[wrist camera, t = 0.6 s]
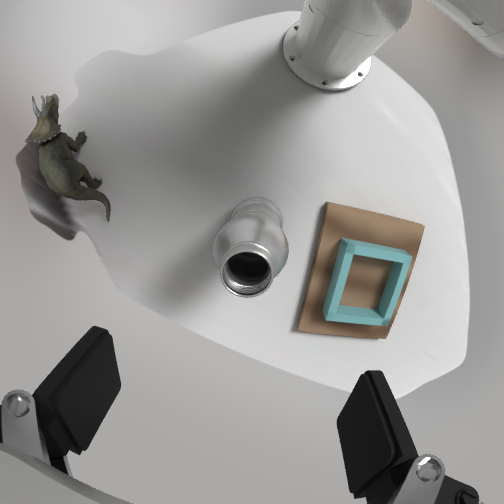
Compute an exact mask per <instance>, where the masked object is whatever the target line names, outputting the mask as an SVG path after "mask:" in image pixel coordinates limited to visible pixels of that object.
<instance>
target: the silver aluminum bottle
mask: <svg viewBox="0 0 504 504" xmlns="http://www.w3.org/2000/svg"><path fill="white" fill-rule="evenodd" d="M282 227H283V217H282V213H281V211H280V209H279V208H278V207H277V206H276V205H275V204H274V203H273V202H272V201H270V200H268V199H265V198H258V197H256V198H250V199H247V200H245V201H243V202H241V203H240V204H239V205H238V206H237V207H236V208H235V210H234V212H233V214H232V217H231V220H230V221H229V222H227V223H226V224H225V225H224V226H223V227H222V228H221V229H220V230H219V231H218V233H217V235H216V237H215V240H214V244H213V255H214V260H215V263H216V265H217V268H218V269H219V271H220V275H221V280H222V283H223V285H224V286H225V288H226V289H227V290H228V291H230V292H231V293H232V294H234V295H237V296H240V297H246V298H248V297H255V296H258V295H260V294H262V293H264V292H265V291H266V290H267V289H268V288H269V287H270V285H271V283H272V281H273V278H275V277H276V276H277V275H278V274H279V273H280V271H281V270H282V269H283V267H284V266H285V264H286V261H287V258H288V252H289V250H288V242H287V239H286V236H285V234H284V232H283V231H282Z"/></svg>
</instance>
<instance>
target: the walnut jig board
mask: <svg viewBox="0 0 504 504" xmlns="http://www.w3.org/2000/svg"><path fill="white" fill-rule="evenodd" d="M424 228H425V226H424V225H422V224H419V223H415V222H411V221H408V220H404V219H400V218H396V217H392V216H388V215H384V214H380V213H376V212H371V211H367V210H363V209H358V208H354V207H349V206H345V205H340V204H335V203H330V202H326V207H325V212H324V217H323V221H322V226H321V231H320V235H319V240H318V244H317V249H316V253H315V258H314V262H313V266H312V270H311V274H310V278H309V283H308V287H307V290H306V294H305V298H304V302H303V306H302V310H301V313H300V317H299V321H298V324H297V329H298V331H302V332H310V333H320V334H329V335H340V336H352V337H365V338H381V339H386V337H387V335H388V333H389V331H390V328H391V326H392V324H393V321H394V319H395V316H396V314H397V311H398V309H399V306H400V304H401V301H402V298H403V296H404V293H405V290H406V287H407V284H408V281H409V279H410V276H411V273H412V269H413V266H414V263H415V260H416V257H417V253H418V250H419V246H420V243H421V239H422V235H423V231H424Z"/></svg>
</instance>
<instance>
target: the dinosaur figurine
mask: <svg viewBox="0 0 504 504" xmlns="http://www.w3.org/2000/svg"><path fill="white" fill-rule="evenodd" d="M41 98H42V101H43V102H42V112H40V111H39V110H38V108H37V106H36V103H35V100H34V97H33V96H32V102H33V110H34V113H35V115H36V116H37V119H38V120H37V125H36V127H35V128H34V130H33V131H32V132H31V134H30V135H29V137H28V138H27V139H26V140H25V142H39V143H40V142H41V144H40V146H39V148H38V153H39V155H40V156H39V167H40V171H41V174H42V176H43V177H44V178H45V180H46V183H47V185H48V187H49V188H50V189H51V190H52V191H53V192H55V193H57V194H58V195H60V196H64V197H67V198H71V199H74V200H97V201H100V202H102V203H103V204H104V205H105V207H106V212H107V216H106V217H107V221H108V222H109V219H110V211H111V210H110V203H109V200H108V199H107V197H106V196H105V195H104V194H103V193H101V192H99V191H97V190H94V189H97V188H98V187H99V186H100V185H101V183H102V179H100V180H98V179H97V178H96V177H95V178H94V179H93V180H92V178H91V176H90V175H89V172H88V171H87V169H86V167H85V166H84V165H83V164H81V163H79V162H77V161H75V159H74V157H73V154H72V151H74V152H77V151H78V150H79V148H80V145H81V144H83V143H84V142H86V138H87V136H85V132H84V131H83V132H82V133H81V132H79V133H78V137H76V141H74V140H73V139H72V138H71V137H69V136H68V135H67V134H66V133H63V132H60V130H61V129H60V127H61V125H58V117H59V114H58V103H59V99H58V97H57V95H56V94H53V95H51V96H46V105H45V99H44V97H43V96H41ZM71 150H72V151H71ZM80 181H82V182H85V183H86V184H87V186H88V188H87V187H84V186H82V185H80Z"/></svg>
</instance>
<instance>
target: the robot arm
mask: <svg viewBox="0 0 504 504" xmlns="http://www.w3.org/2000/svg"><path fill="white" fill-rule="evenodd" d="M425 1H427V2H428V3H430V4H431V5H433V6H434V7H435V8H437V9H439V10H440V11H441V12H442V13H444V14H445V15H447V16H448V17H449V18H451V19H452V20H453V21H454V22H456V23H457V24H458V25H459V26H461V27H462V28H463V29H464V30H465V31H467V32H468V33H469V34H470V35H472V36H473V37H474V38H475V39H476V40H477V41H478V42H480V43H481V44H482V45H483V46H484V47H486V48H487V49H488V50H489V51H491V52H492V53H494V54H495V55H497V56H499V57H500V58H502V59H504V0H425ZM411 9H412V0H305V1H304V5H303V10H302V14H301V18H300V21H298V22H297V23H295V24H294V25H293V26H292V27H291V28H290V29H289V30H288V31H287V33H286V35H285V38H284V42H283V52H284V56H285V59H286V62H287V63H288V65H289V67H290V68H291V69H292V71H293V72H294V73H295V74H296V75H297V76H298V77H300V78H301V79H302V80H304V81H305V82H307V83H308V84H311V85H313V86H315V87H318V88H321V89H325V90H333V91H334V90H344V89H349V88H351V87H353V86H356V85H357V84H358V83H360V82H361V81H362V80H363V79H364V78H365V77H366V75H367V74H368V72H369V69H370V66H371V55H373V54H374V53H375V52H376V51H377V50H378V49H379V48H380V47H381V46H382V45H383V44H384V43H385V42H386V41H387V40H388V39H389V38H390V37H391V36H393V35H394V34H395V33H396V32H397V31H398V30H399V29H400V28H401V27H402V26H403V25H404V24H405V23H406V22H407V20H408V18H409V16H410V14H411ZM291 59H293V60H294V61H291ZM358 75H359V76H360V77H358ZM322 83H325V84H326V85H323V84H322ZM120 388H121V381H120V376H119V371H118V366H117V361H116V357H115V350H114V345H113V338H112V336H111V335H110V334H109V332H108V330H106V329H103V328H100V327H97V326H93V327H92V328H90V329H89V331H88V332H87V333H86V334H85V335H84V336H83V337H82V338H81V339H80V340H79V341H78V342H77V343H76V345H75V346H74V347H73V348H72V349H71V350H70V351H69V352H68V353H67V354H66V356H65V357H64V358H63V359H62V360H61V361H60V363H58V365H57V366H56V367H55V368H54V369H53V370H52V372H51V373H50V374H49V375H48V376H47V377H46V379H45V380H44V381H43V382H42V383H41V384H40V386H39V387H38V388H37V389H36V390H35V392H34V393H33V395H31V394H30V393H28V392H27V391H24V390H14V391H11V392H9V393H8V394H7V395H6V396H5V397H4V398H3V400H2V405H0V504H133V503H130V502H127V501H124V500H122V499H119V498H116V497H114V496H112V495H109V494H107V493H104V492H102V491H100V490H97V489H95V488H93V487H91V486H89V485H87V484H85V483H82V482H80V481H78V480H76V479H74V478H73V476H72V473H71V470H70V467H69V463H68V460H67V456H66V455H67V453H68V451H69V450H70V451H72V452H74V453H76V454H78V455H80V454H81V452H82V450H83V451H85V450H87V448H88V447H89V445H90V443H91V441H92V439H93V437H94V436H95V434H96V432H97V430H98V428H99V426H100V425H101V423H102V421H103V419H104V418H105V416H106V414H107V412H108V410H109V409H110V407H111V405H112V403H113V402H114V400H115V398H116V396H117V395H118V393H119V391H120ZM337 429H338V433H339V438H340V443H341V448H342V453H343V459H344V463H345V469H346V475H347V480H348V486H349V491H350V492H351V493H353V494H354V499H356V498H363V497H366V500H367V504H479V495H478V493H477V491H476V490H475V489H474V488H473V487H471V486H469V485H466V484H464V483H462V482H459V481H457V480H454V479H452V478H450V477H448V476H446V475H445V467H444V464H443V463H442V461H441V460H440V459H439V458H438V457H436V456H434V455H430V454H425V455H422V456H418V454H417V450H416V448H415V446H414V443H413V440H412V438H411V436H410V433H409V431H408V428H407V426H406V423H405V421H404V419H403V417H402V414H401V412H400V409H399V407H398V405H397V403H396V400H395V398H394V396H393V394H392V391H391V389H390V387H389V385H388V383H387V381H386V378H385V376H384V374H383V372H382V371H380V370H368V371H366V372H365V373H364V374H362V375H361V376H360V377H359V379H358V381H357V383H356V385H355V387H354V389H353V391H352V393H351V395H350V396H349V398H348V400H347V402H346V404H345V406H344V407H343V409H342V411H341V413H340V414H339V416H338V418H337ZM480 504H484V503H483V502H481V503H480Z"/></svg>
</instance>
